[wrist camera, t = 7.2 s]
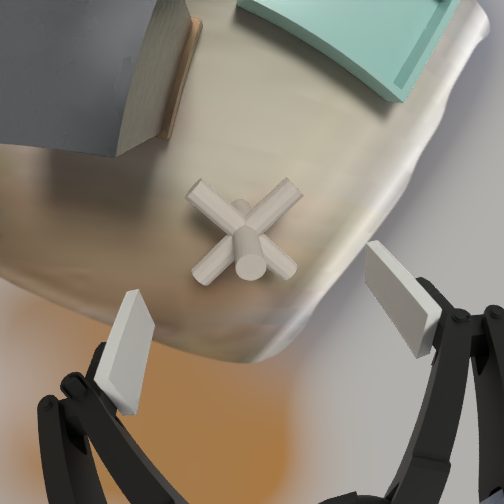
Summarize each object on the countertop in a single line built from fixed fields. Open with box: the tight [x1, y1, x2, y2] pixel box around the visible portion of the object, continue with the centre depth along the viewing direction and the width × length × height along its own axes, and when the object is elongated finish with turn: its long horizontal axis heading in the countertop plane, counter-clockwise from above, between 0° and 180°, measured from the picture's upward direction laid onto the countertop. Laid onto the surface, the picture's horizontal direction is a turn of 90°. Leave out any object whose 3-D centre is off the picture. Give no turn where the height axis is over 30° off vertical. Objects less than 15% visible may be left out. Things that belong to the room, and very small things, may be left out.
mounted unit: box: [0, 0, 203, 158], centre depth 14 cm, size 13×10×13 cm
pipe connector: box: [185, 177, 304, 285], centre depth 22 cm, size 10×10×10 cm
